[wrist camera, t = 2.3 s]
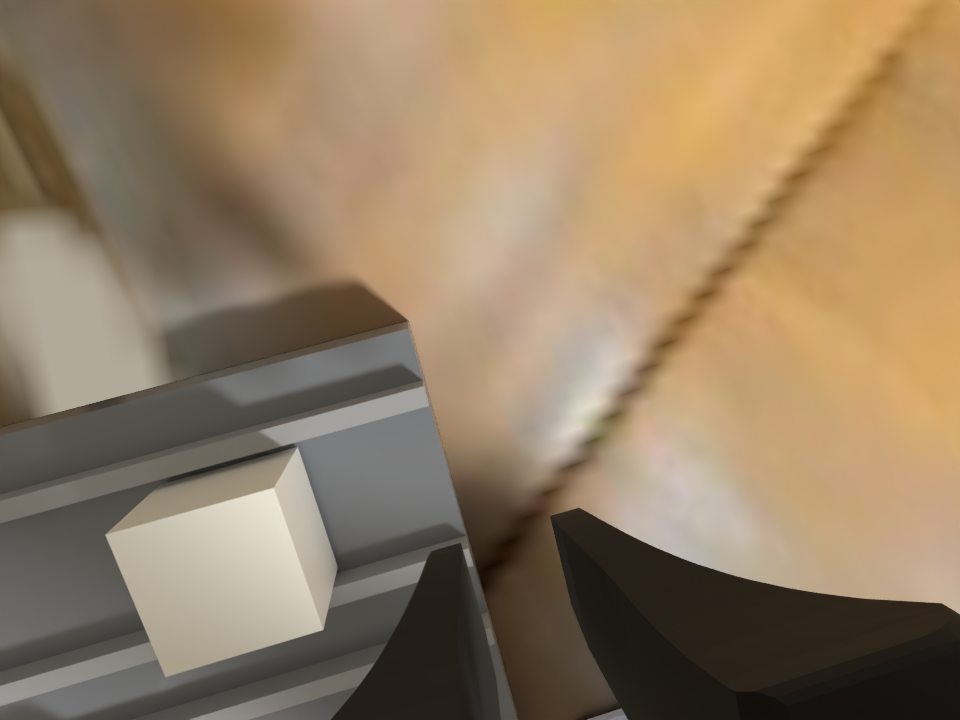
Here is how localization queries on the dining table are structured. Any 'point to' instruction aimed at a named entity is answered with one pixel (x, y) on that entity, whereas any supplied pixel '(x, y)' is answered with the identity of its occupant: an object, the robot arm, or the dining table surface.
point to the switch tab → (227, 561)
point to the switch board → (201, 448)
